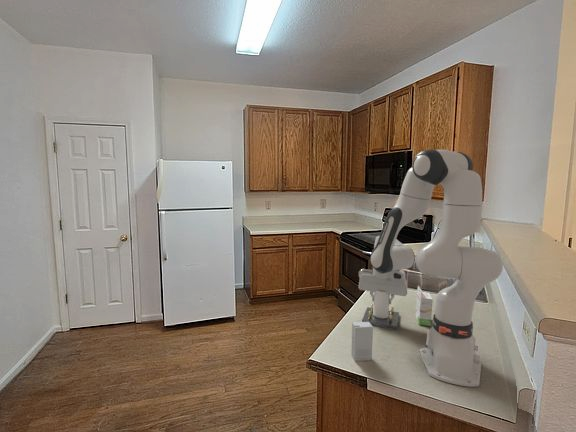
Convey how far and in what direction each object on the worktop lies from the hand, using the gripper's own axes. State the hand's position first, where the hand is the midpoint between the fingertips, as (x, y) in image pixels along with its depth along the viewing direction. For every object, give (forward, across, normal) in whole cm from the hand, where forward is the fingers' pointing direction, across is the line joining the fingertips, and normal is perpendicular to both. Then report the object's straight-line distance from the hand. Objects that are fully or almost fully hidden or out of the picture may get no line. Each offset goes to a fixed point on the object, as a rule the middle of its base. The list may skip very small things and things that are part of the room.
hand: (381, 302), depth 139 cm
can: (+6, 0, 0) cm, 6 cm away
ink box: (+8, +17, +5) cm, 20 cm away
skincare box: (+8, -3, -35) cm, 36 cm away
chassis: (+8, 0, 0) cm, 8 cm away
